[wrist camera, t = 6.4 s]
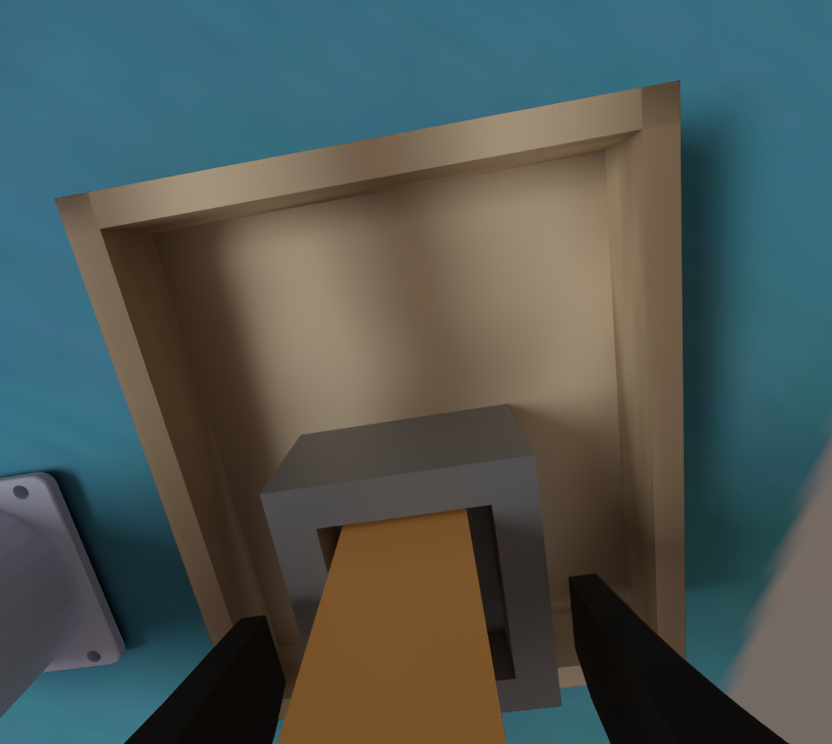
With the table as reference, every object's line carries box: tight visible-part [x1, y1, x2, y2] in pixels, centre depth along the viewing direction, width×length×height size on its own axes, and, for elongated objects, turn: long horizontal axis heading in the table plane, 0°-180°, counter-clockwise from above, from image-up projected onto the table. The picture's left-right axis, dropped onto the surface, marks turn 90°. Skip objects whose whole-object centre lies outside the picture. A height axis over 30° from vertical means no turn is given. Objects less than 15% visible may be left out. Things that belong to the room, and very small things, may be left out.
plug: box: [278, 508, 506, 744], centre depth 8 cm, size 3×4×8 cm
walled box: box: [55, 80, 686, 720], centre depth 13 cm, size 14×16×3 cm
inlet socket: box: [260, 404, 562, 713], centre depth 12 cm, size 6×7×4 cm
